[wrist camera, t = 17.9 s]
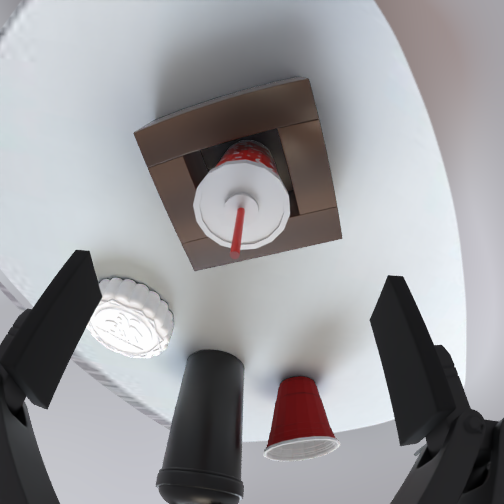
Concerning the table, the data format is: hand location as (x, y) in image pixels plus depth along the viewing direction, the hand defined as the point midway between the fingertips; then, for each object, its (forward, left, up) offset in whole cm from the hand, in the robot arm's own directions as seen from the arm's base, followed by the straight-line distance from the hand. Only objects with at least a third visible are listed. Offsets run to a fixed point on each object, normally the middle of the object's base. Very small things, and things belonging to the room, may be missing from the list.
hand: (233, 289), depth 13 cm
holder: (0, 0, -17) cm, 17 cm away
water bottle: (+30, -3, -17) cm, 35 cm away
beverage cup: (0, 0, -17) cm, 17 cm away
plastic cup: (+34, +10, -17) cm, 39 cm away
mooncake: (+20, -14, -17) cm, 30 cm away
